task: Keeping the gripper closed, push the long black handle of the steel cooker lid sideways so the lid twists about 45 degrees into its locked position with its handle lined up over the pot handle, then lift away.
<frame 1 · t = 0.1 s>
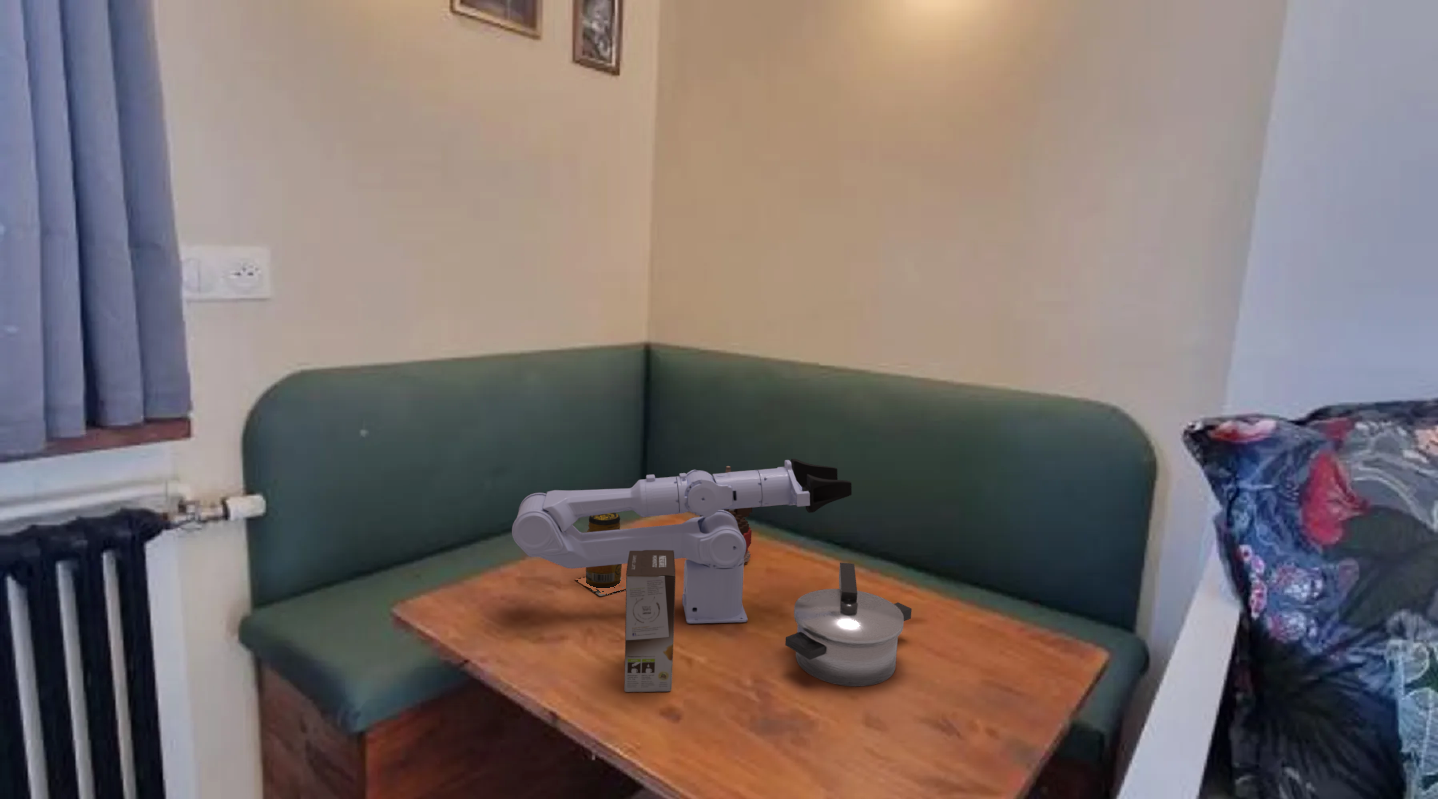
hand: (843, 481, 124), 22 cm above the table, tool horizontal, fingers open, 7 cm apart
condiment: (605, 585, 135), on the table
lid: (848, 600, 113), point 8 cm above the table, hinge at 45.0°
cooker pot: (845, 659, 112), on the table
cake: (724, 560, 148), on the table
coffee box: (648, 675, 106), on the table
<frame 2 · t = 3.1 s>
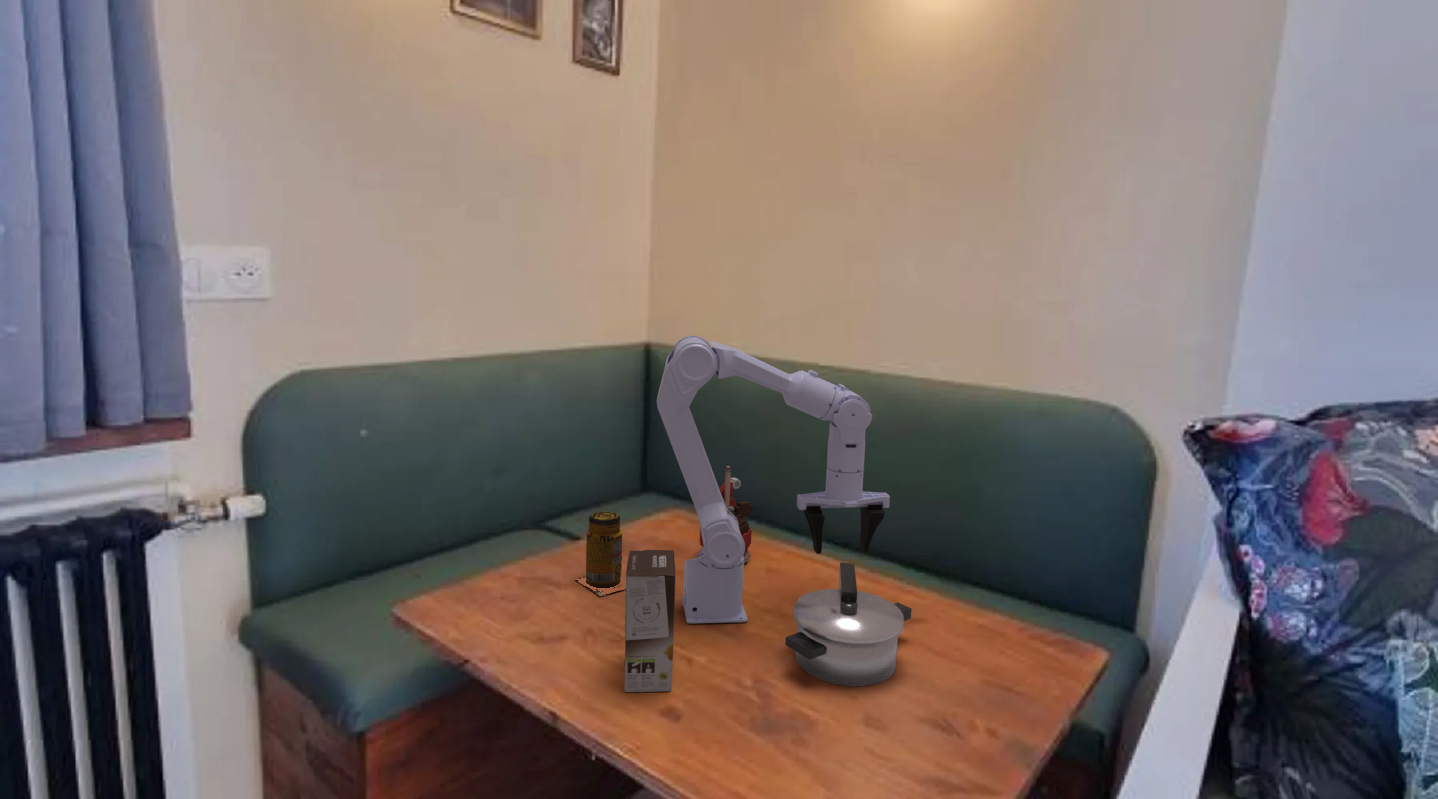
hand: (840, 550, 125), 10 cm above the table, tool pointing down, fingers open, 7 cm apart
nothing on the table moved.
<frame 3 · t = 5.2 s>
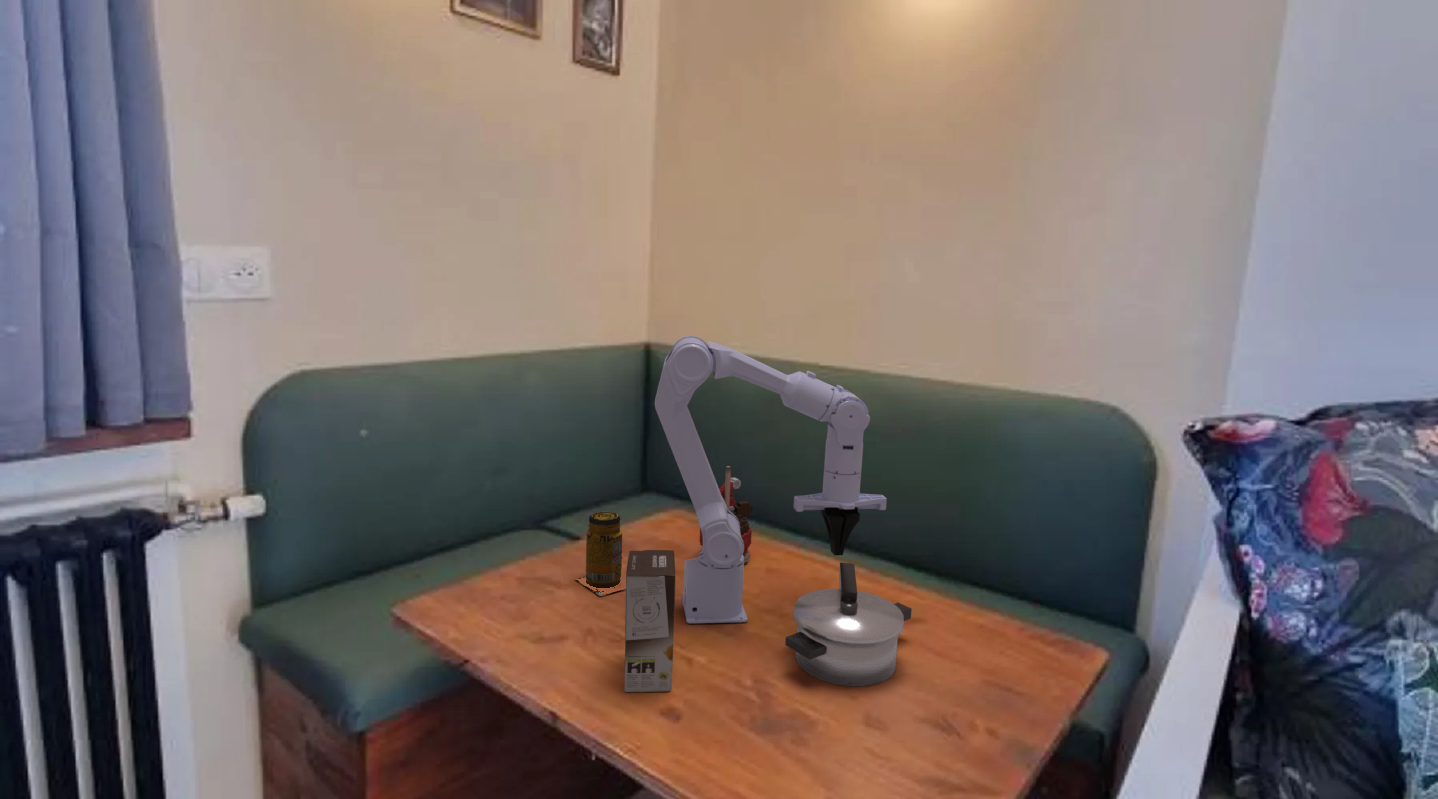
hand: (836, 553, 125), 10 cm above the table, tool pointing down, fingers closed
nothing on the table moved.
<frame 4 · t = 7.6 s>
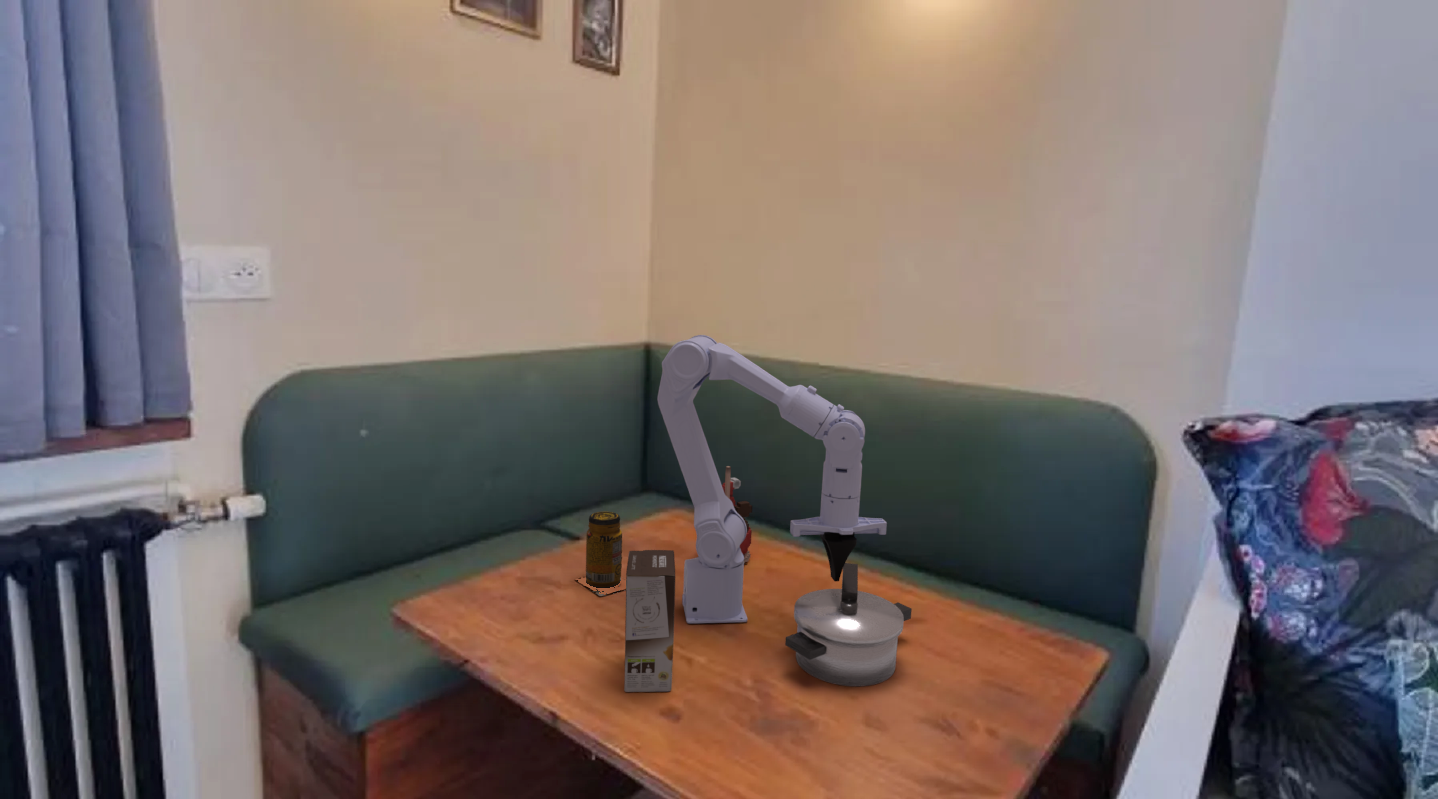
hand: (835, 578, 120), 8 cm above the table, tool pointing down, fingers closed
lid: (849, 600, 113), point 8 cm above the table, hinge at 42.4°, touching gripper
everything else where it was.
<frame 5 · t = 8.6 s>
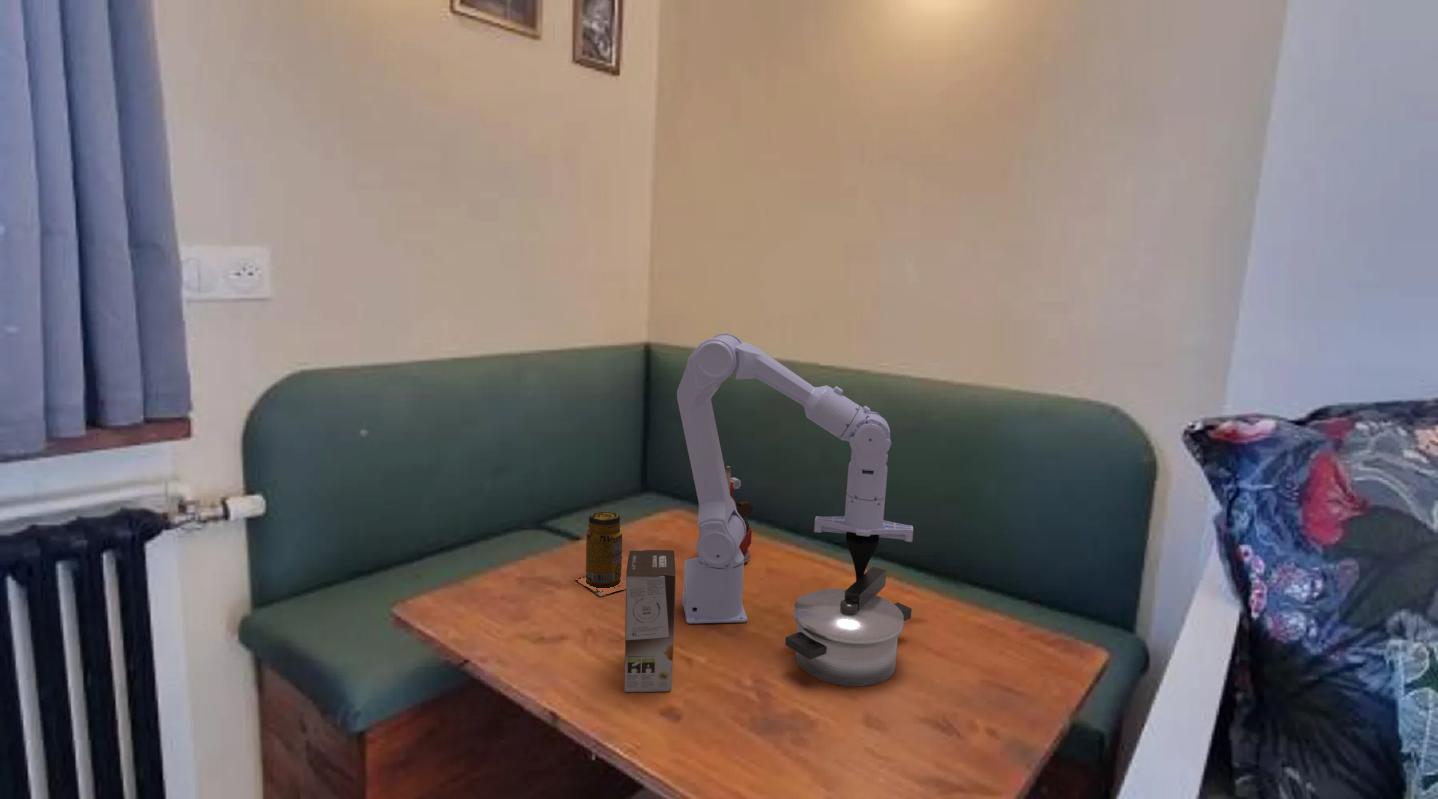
hand: (859, 580, 120), 8 cm above the table, tool pointing down, fingers closed
lid: (854, 601, 113), point 8 cm above the table, hinge at 20.9°, touching gripper
everything else where it was.
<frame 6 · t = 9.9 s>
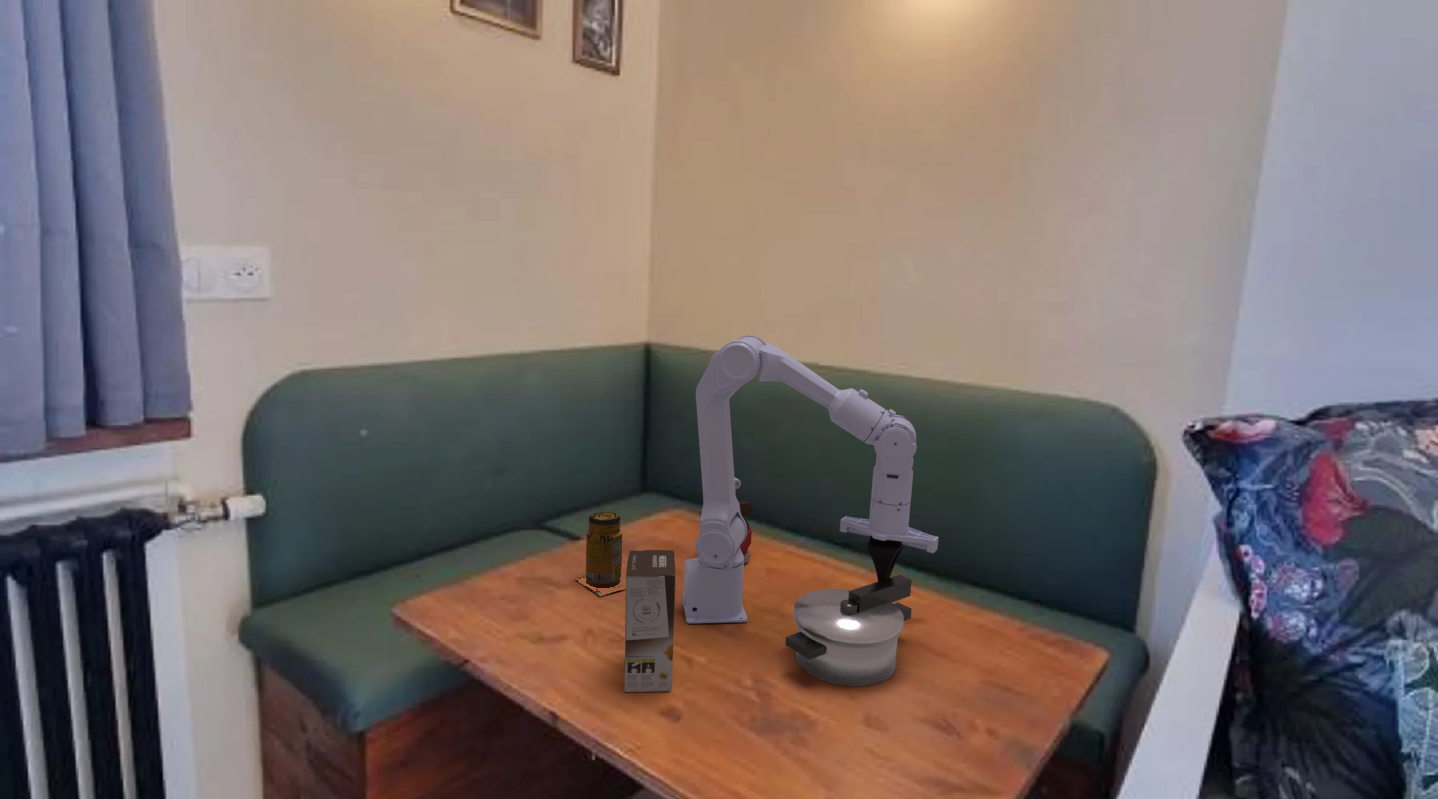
hand: (883, 586, 118), 8 cm above the table, tool pointing down, fingers closed
lid: (859, 603, 112), point 8 cm above the table, hinge at -0.6°, touching gripper
everything else where it was.
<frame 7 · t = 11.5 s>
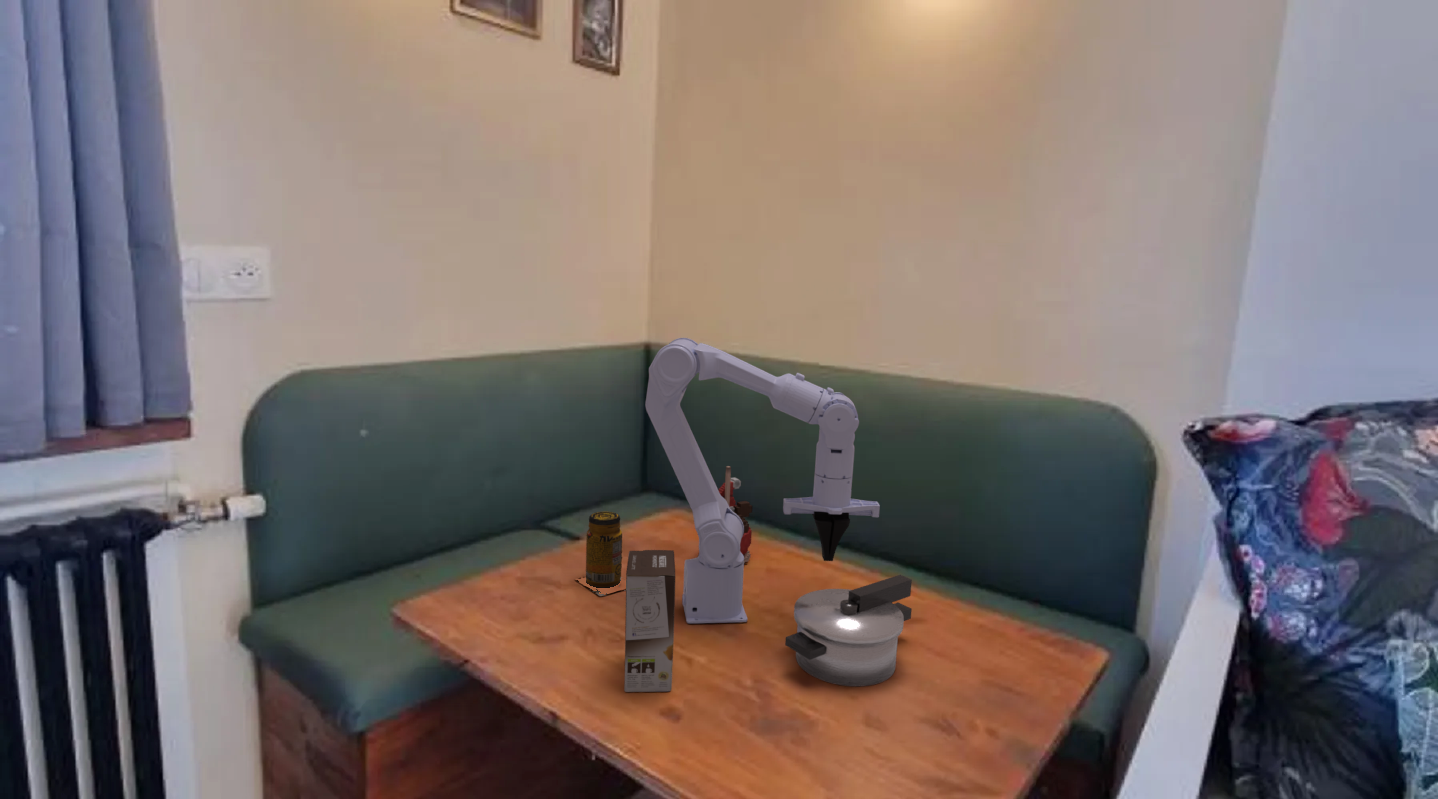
hand: (827, 558, 122), 10 cm above the table, tool pointing down, fingers closed
lid: (859, 603, 112), point 8 cm above the table, hinge at -0.7°
everything else where it was.
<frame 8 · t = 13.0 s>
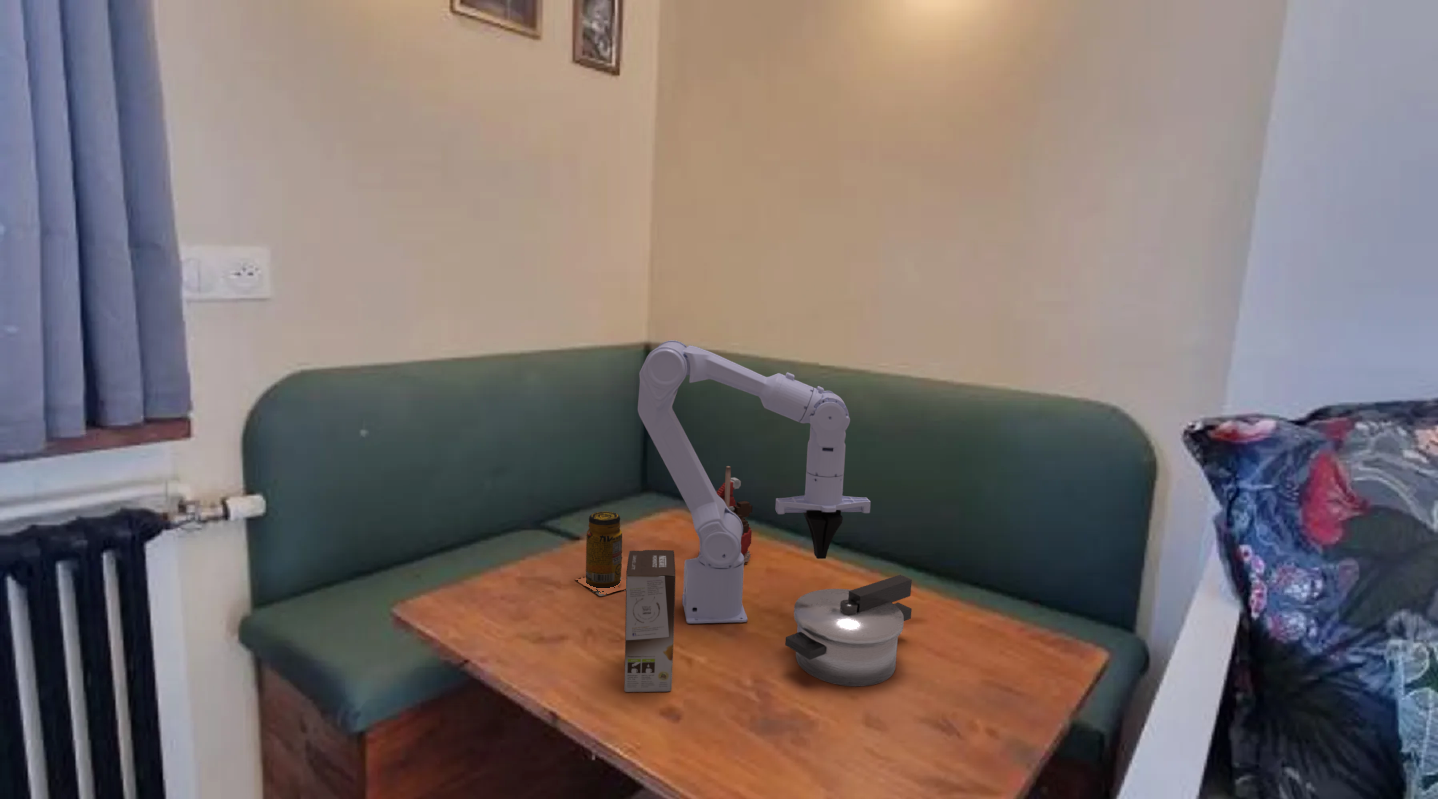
hand: (819, 556, 123), 10 cm above the table, tool pointing down, fingers closed
nothing on the table moved.
at the end: lid at -1° (first picture: +45°) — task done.
